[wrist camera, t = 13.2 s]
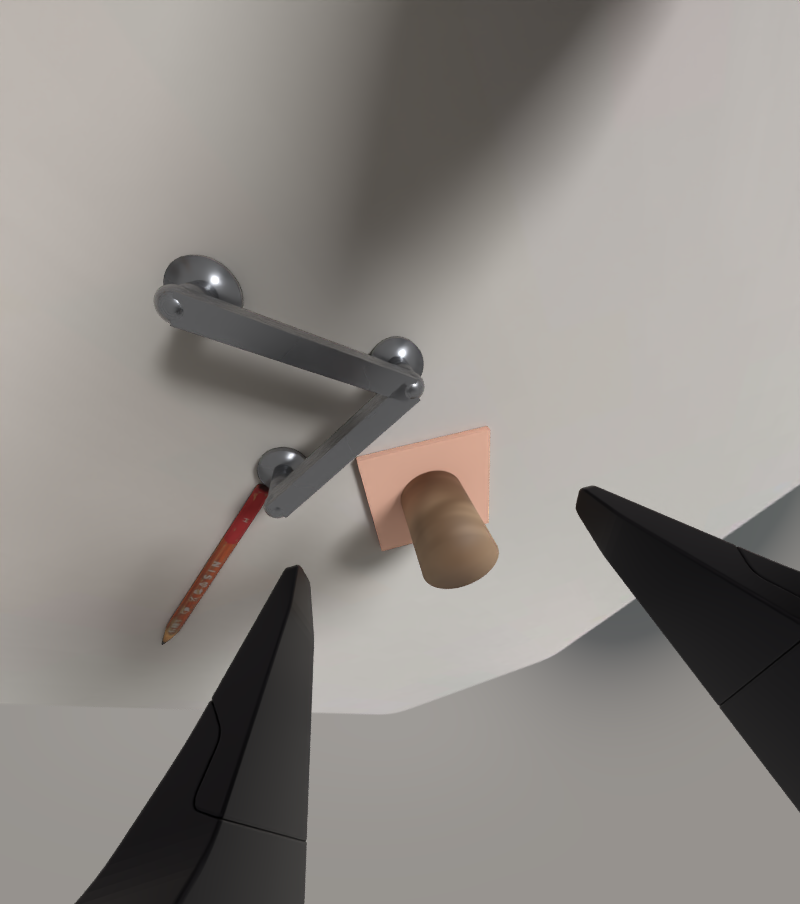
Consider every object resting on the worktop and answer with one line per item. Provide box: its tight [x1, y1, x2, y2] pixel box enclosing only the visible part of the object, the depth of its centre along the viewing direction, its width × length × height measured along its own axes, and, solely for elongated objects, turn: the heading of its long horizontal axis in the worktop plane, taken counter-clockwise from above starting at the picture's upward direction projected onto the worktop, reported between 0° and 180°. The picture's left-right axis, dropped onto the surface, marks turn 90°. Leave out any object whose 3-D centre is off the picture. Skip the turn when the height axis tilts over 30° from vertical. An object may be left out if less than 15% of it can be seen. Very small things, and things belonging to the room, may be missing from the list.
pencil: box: [162, 484, 269, 645], centre depth 23 cm, size 19×1×1 cm, turn 143°
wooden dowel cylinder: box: [401, 470, 499, 589], centre depth 21 cm, size 5×5×6 cm
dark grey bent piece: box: [154, 255, 424, 518], centre depth 16 cm, size 11×13×4 cm
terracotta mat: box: [356, 426, 490, 551], centre depth 23 cm, size 9×9×1 cm
